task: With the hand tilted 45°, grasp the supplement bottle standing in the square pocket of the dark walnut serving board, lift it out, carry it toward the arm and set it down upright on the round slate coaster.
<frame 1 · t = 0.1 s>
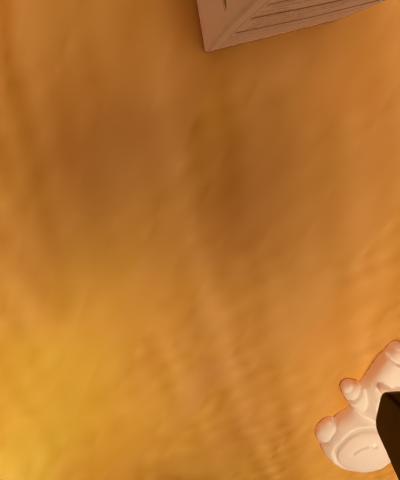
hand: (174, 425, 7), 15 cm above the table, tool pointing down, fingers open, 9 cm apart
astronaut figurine: (374, 400, 29), on the table
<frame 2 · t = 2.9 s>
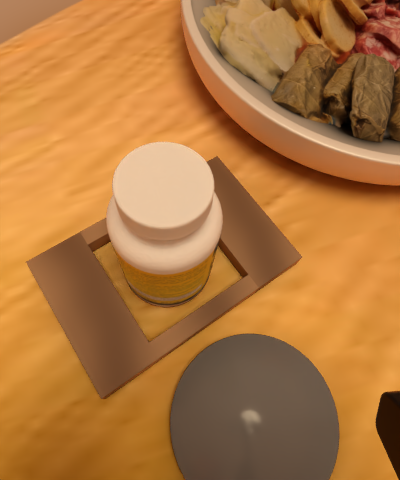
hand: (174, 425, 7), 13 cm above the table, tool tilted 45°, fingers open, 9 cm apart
slate coaster: (253, 419, 20), on the table
pocket board: (168, 265, 23), on the table
supplement bottle: (168, 267, 23), on the table
bowl: (348, 60, 32), on the table
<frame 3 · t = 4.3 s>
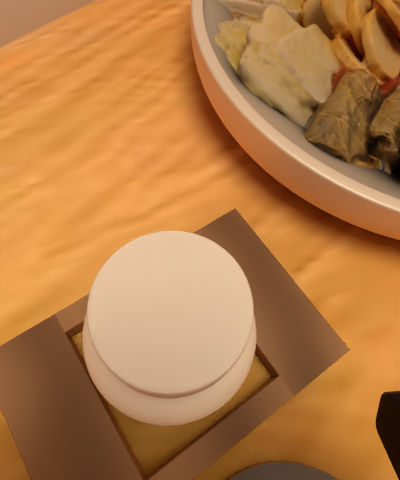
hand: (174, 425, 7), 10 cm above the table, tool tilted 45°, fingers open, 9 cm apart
pocket board: (171, 357, 17), on the table
supplement bottle: (171, 357, 17), on the table
bowl: (386, 85, 27), on the table
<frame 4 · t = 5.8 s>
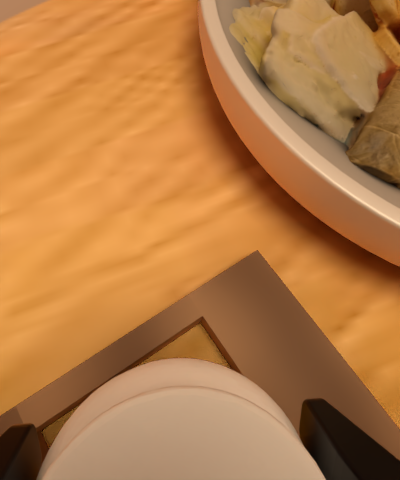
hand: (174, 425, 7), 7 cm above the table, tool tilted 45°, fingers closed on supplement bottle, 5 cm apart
pocket board: (175, 458, 13), on the table
supplement bottle: (175, 457, 13), on the table, touching gripper
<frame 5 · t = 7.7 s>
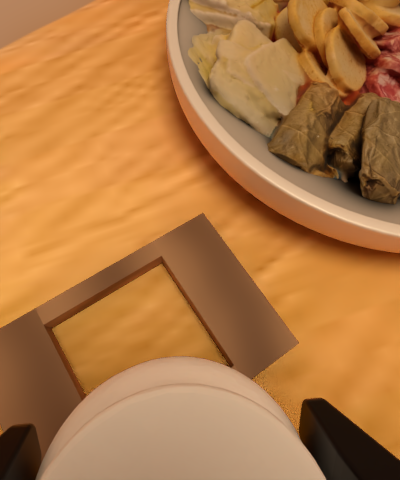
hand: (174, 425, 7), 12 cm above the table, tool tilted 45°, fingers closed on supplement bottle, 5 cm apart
pocket board: (140, 347, 19), on the table
supplement bottle: (174, 456, 13), point 5 cm above the table, touching gripper
bowl: (357, 93, 28), on the table
when the fingers open (8 cm above the table, at t = 9.8 s): supplement bottle stays where it is, resting on slate coaster.
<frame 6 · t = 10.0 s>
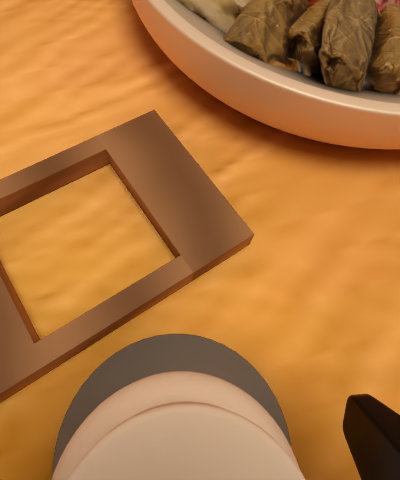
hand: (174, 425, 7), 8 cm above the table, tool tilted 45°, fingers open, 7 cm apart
slate coaster: (175, 452, 14), on the table
pocket board: (80, 244, 17), on the table
supplement bottle: (174, 460, 14), resting on slate coaster
bowl: (327, 13, 27), on the table
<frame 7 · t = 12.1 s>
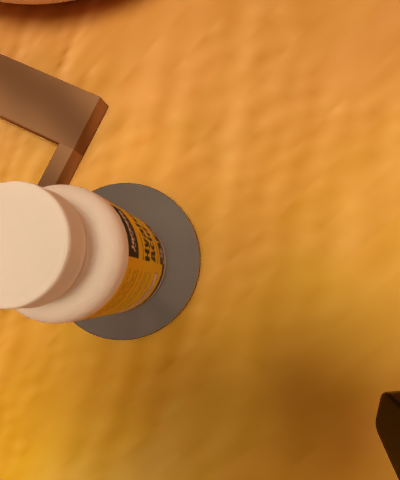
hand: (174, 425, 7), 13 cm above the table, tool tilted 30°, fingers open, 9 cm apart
slate coaster: (124, 260, 21), on the table
pocket board: (0, 177, 23), on the table
supplement bottle: (123, 263, 21), resting on slate coaster
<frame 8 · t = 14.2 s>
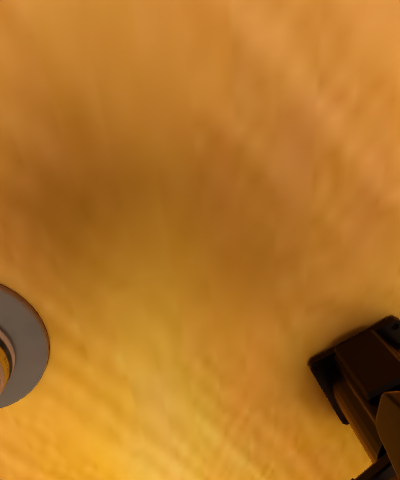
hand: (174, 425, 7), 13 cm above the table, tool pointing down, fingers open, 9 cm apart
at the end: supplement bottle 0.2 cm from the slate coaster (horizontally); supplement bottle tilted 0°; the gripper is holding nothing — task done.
